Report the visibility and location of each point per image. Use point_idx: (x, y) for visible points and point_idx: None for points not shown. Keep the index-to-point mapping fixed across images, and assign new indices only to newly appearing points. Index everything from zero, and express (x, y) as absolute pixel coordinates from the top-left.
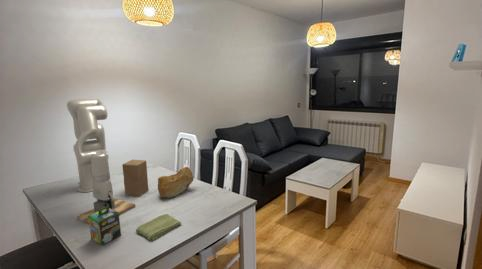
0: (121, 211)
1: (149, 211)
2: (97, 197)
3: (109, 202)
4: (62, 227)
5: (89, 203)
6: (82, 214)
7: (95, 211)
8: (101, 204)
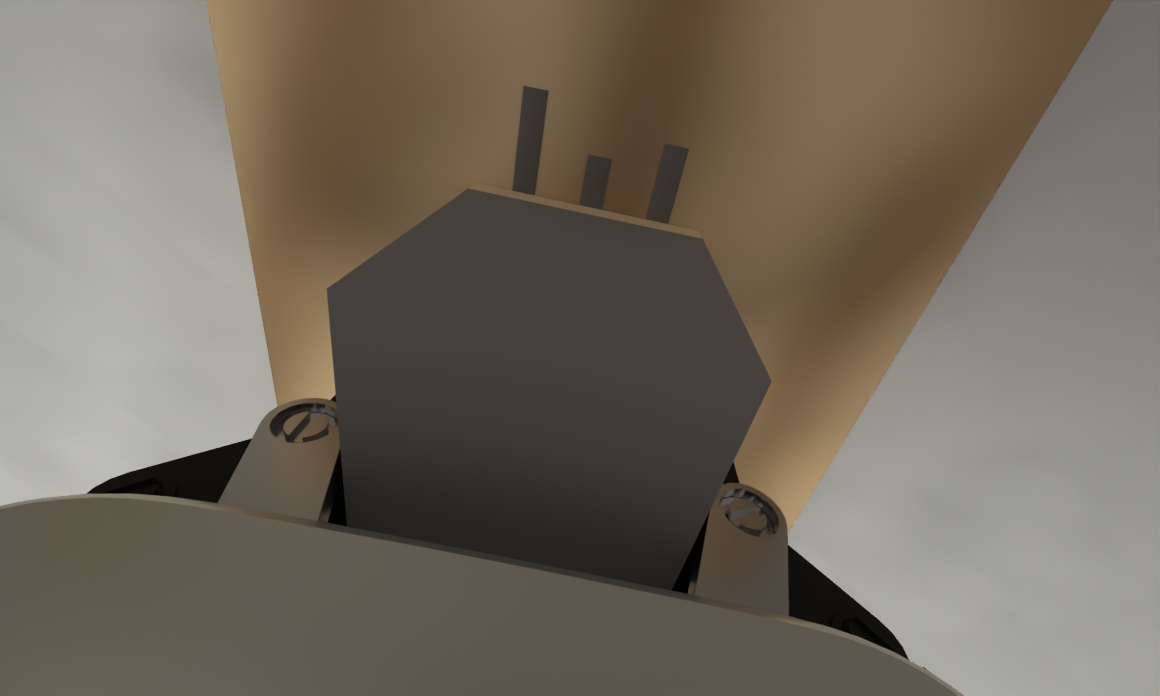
0: (281, 404)
1: (65, 489)
2: (594, 667)
3: (139, 476)
4: None
5: (1092, 542)
6: (999, 107)
7: (668, 241)
8: (347, 344)
